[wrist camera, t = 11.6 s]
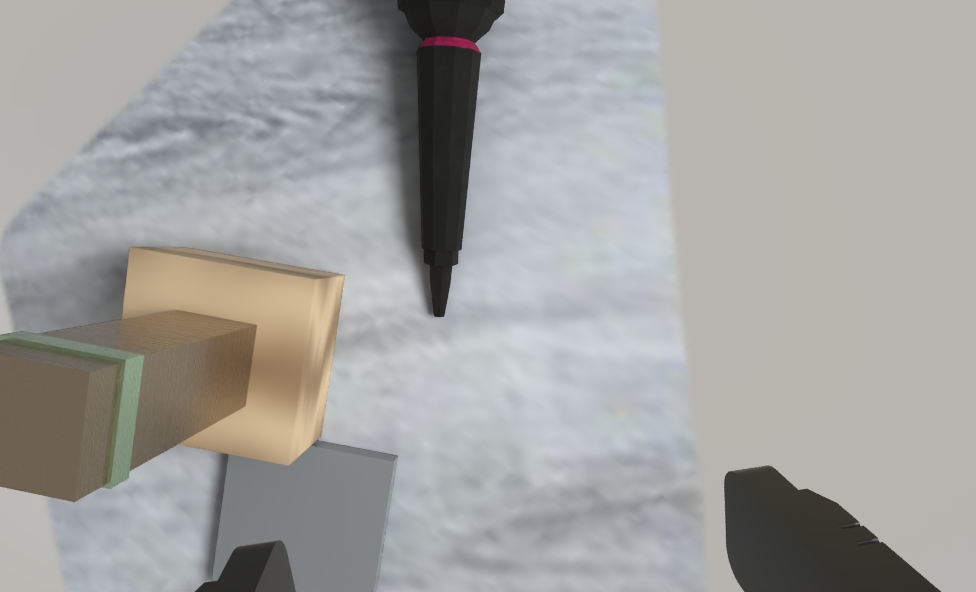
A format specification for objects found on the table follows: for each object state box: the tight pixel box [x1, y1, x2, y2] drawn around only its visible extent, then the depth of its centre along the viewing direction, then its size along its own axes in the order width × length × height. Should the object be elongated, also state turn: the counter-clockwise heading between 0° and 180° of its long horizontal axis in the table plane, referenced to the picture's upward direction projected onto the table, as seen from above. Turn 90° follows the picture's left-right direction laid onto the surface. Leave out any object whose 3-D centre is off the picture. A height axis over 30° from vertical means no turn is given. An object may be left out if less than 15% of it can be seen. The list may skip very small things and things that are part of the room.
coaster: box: [212, 440, 398, 592], centre depth 37 cm, size 10×10×1 cm
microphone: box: [397, 0, 505, 317], centre depth 33 cm, size 6×6×20 cm
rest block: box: [122, 247, 345, 466], centre depth 34 cm, size 10×10×5 cm
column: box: [0, 310, 257, 502], centre depth 26 cm, size 5×5×12 cm
